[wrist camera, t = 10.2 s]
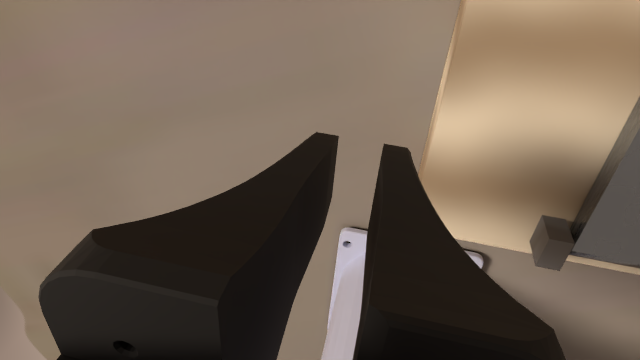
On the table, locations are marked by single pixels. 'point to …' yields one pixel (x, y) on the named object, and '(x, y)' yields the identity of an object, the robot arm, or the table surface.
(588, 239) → the gray rectangular block
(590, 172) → the board
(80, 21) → the table surface
